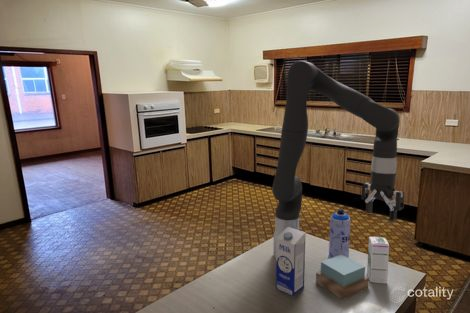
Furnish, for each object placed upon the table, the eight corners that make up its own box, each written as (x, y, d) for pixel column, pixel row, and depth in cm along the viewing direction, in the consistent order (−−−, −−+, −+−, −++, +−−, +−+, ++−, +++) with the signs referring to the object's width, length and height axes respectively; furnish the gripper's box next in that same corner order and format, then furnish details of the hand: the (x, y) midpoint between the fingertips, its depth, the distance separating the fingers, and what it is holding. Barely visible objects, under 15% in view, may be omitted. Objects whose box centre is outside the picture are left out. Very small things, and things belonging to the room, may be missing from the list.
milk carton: (304, 287, 111) (306, 231, 107) (293, 296, 106) (294, 238, 102) (286, 280, 116) (287, 226, 112) (275, 288, 111) (276, 232, 107)
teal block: (320, 272, 114) (321, 261, 113) (341, 264, 119) (341, 254, 118) (343, 286, 105) (344, 275, 104) (364, 277, 110) (365, 266, 109)
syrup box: (387, 284, 112) (390, 244, 110) (369, 282, 114) (371, 243, 111) (383, 275, 118) (386, 237, 115) (366, 273, 119) (368, 235, 116)
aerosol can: (339, 265, 125) (342, 215, 121) (323, 256, 132) (325, 209, 128) (353, 259, 129) (356, 210, 126) (337, 251, 136) (339, 205, 132)
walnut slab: (315, 283, 114) (316, 272, 114) (339, 273, 121) (340, 262, 120) (343, 301, 104) (344, 289, 104) (368, 289, 111) (368, 278, 110)
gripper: (357, 167, 113) (355, 212, 116) (397, 175, 101) (393, 226, 104) (371, 164, 117) (369, 208, 119) (411, 172, 105) (407, 221, 108)
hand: (380, 216), depth 112 cm, fingers open, 8 cm apart
